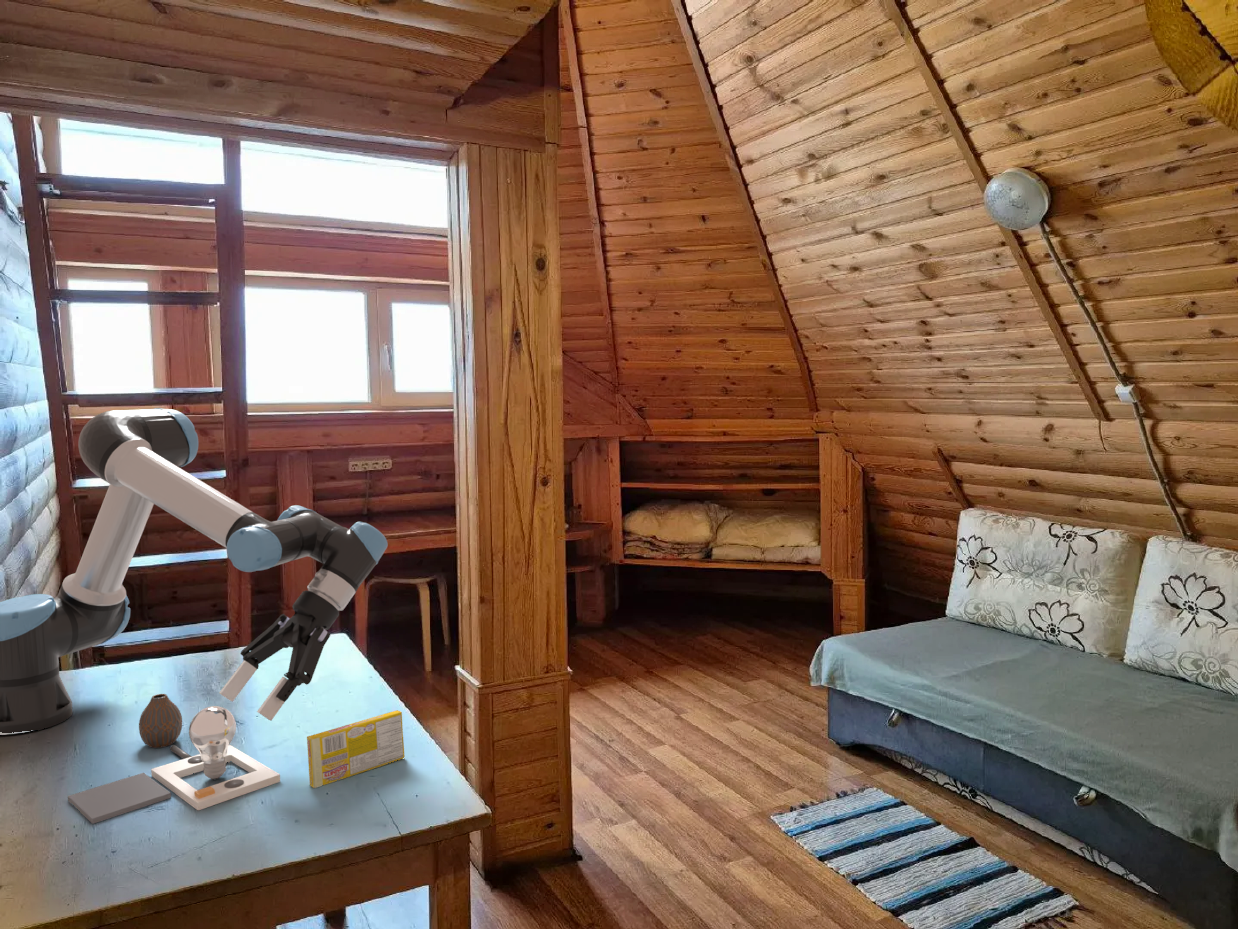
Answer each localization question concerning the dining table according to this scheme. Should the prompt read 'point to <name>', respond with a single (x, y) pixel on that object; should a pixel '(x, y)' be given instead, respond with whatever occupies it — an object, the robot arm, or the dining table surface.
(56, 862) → the dining table surface
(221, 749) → the light bulb
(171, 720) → the vase
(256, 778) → the white square frame
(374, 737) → the candy box
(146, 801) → the felt pad
